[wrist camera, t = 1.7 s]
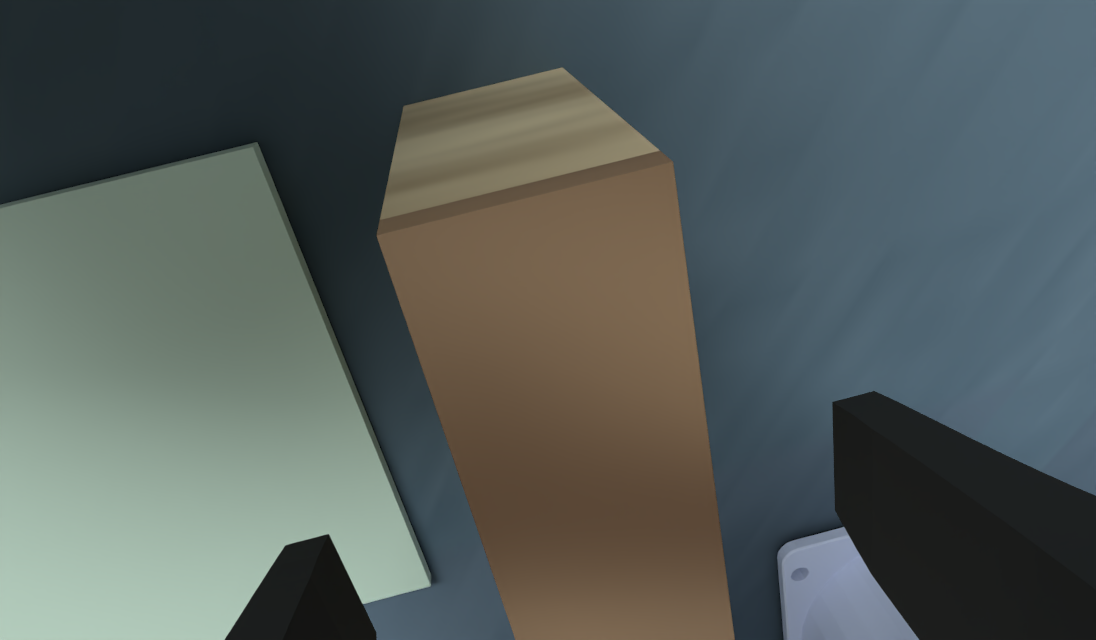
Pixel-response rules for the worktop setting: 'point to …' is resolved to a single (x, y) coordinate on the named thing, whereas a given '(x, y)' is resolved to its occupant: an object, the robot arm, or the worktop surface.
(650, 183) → the oak slab
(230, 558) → the rubber mat
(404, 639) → the worktop surface
